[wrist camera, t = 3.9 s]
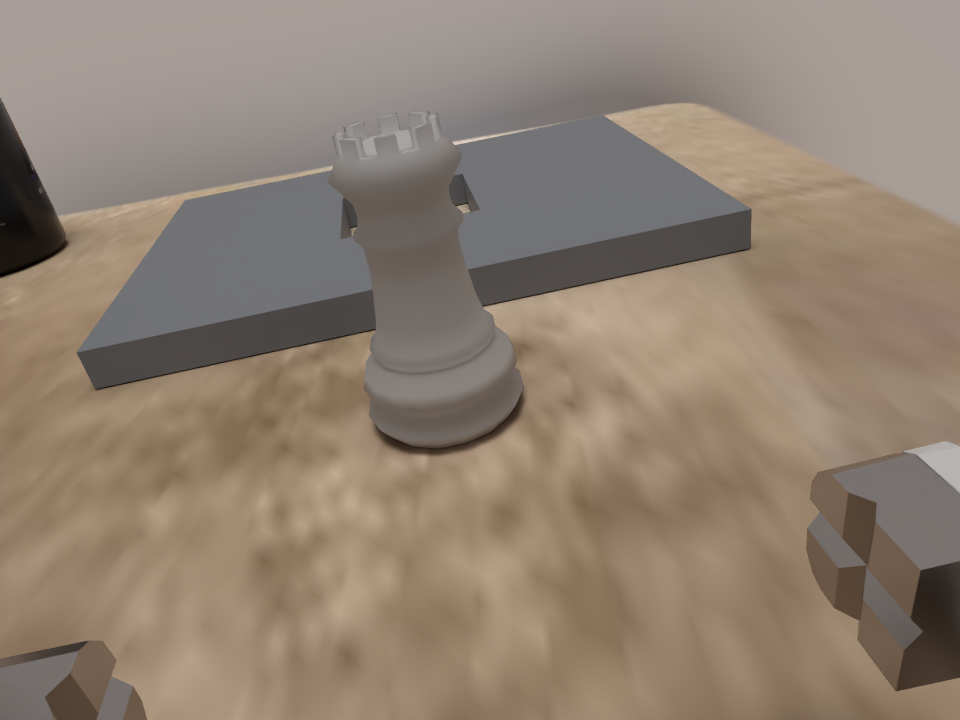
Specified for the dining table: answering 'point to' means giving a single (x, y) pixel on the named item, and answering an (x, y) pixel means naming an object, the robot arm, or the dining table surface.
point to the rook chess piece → (422, 289)
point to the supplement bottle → (23, 205)
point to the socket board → (343, 265)
